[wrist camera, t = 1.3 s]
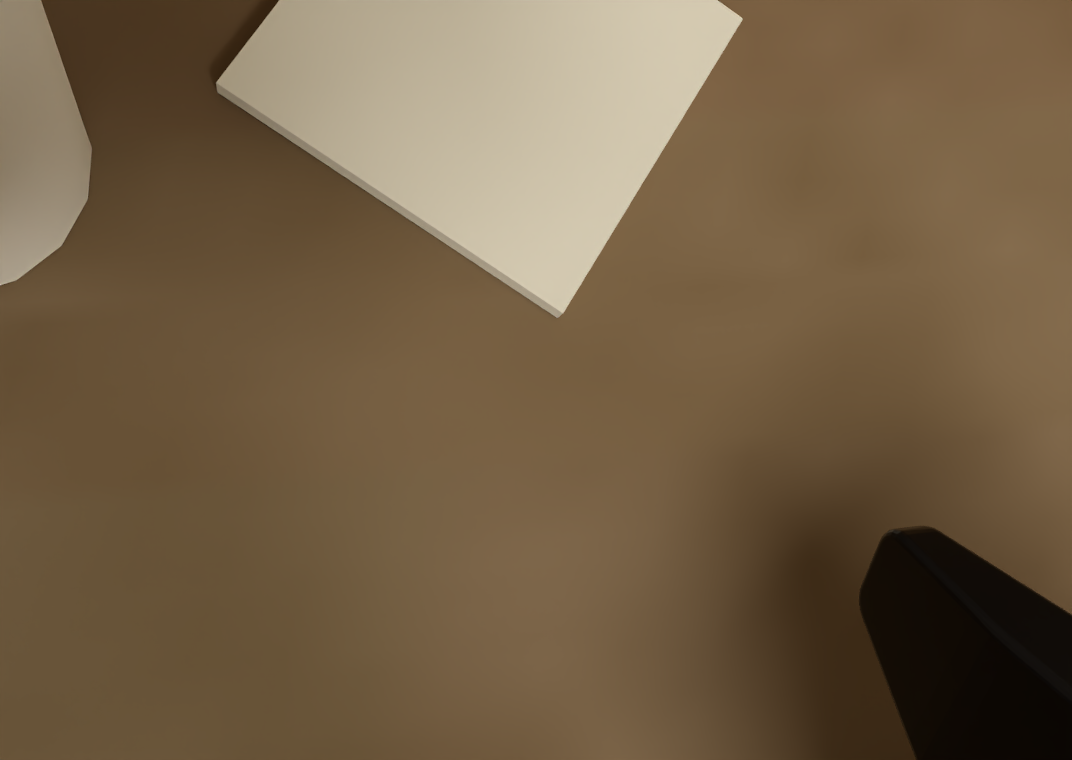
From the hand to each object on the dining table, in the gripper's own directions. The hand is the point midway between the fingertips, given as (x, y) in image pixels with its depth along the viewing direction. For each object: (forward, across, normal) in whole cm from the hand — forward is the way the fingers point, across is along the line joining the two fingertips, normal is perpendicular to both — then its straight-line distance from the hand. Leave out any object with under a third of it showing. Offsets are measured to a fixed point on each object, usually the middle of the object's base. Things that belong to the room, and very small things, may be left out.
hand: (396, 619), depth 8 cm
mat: (+18, -5, +2) cm, 18 cm away
